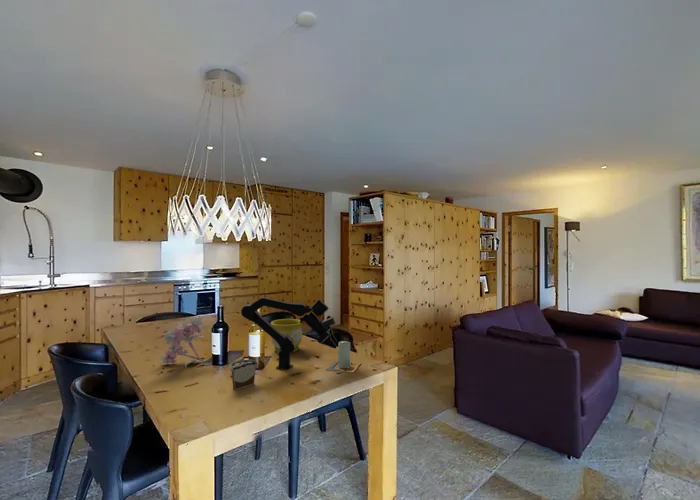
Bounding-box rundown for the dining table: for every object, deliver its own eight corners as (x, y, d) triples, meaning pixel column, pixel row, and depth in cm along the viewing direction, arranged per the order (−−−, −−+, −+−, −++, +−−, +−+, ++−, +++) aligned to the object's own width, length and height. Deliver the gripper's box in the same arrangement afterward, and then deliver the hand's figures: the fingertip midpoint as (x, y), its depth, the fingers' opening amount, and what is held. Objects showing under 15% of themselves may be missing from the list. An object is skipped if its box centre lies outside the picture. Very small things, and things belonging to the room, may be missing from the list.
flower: (194, 350, 198) (173, 313, 189) (221, 352, 186) (200, 312, 178) (164, 376, 182) (140, 336, 174) (191, 380, 170) (167, 338, 162)
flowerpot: (264, 352, 202) (264, 323, 202) (283, 344, 218) (283, 317, 218) (290, 356, 194) (290, 326, 194) (308, 348, 210) (308, 320, 210)
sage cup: (348, 369, 173) (348, 344, 173) (336, 368, 175) (336, 343, 175) (351, 365, 179) (351, 341, 179) (340, 364, 180) (340, 340, 180)
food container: (248, 379, 159) (248, 357, 159) (257, 382, 155) (257, 359, 155) (223, 387, 150) (223, 363, 150) (231, 391, 146) (232, 367, 146)
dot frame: (354, 373, 168) (354, 372, 168) (326, 370, 172) (326, 369, 172) (361, 364, 182) (361, 363, 182) (334, 361, 185) (334, 360, 185)
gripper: (324, 315, 167) (347, 338, 167) (327, 308, 186) (348, 329, 186) (307, 331, 167) (331, 355, 167) (312, 323, 186) (333, 344, 186)
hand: (336, 345), depth 177 cm, fingers open, 9 cm apart
